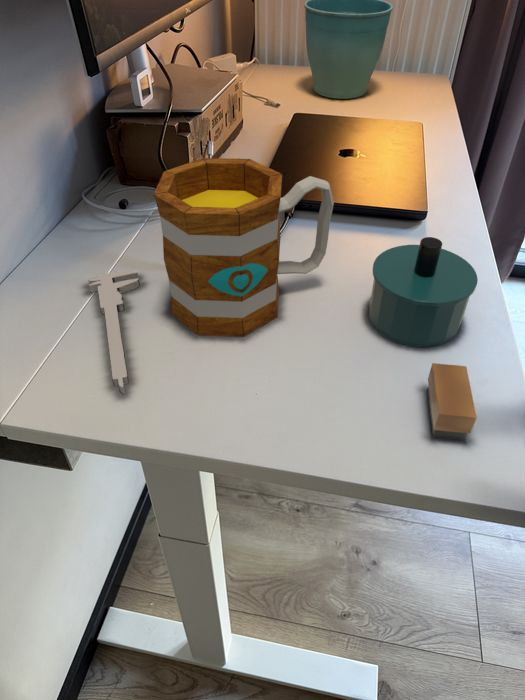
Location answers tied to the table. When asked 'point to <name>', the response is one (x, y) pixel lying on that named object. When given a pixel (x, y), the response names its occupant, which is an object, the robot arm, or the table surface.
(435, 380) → the tall bronze cuboid
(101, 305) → the caliper
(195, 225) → the mug
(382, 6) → the flower pot
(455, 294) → the pot lid
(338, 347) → the table surface
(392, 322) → the pot
